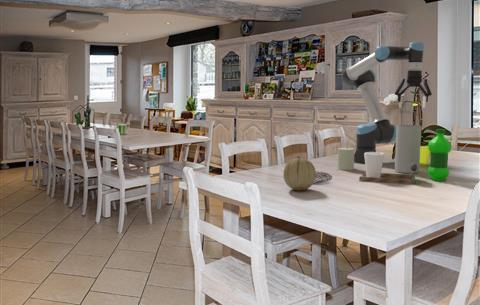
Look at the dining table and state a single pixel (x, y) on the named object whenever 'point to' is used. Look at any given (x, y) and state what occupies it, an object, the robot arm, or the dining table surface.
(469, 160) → the dining table surface
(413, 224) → the dining table surface
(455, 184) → the dining table surface
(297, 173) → the cantaloupe
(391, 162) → the dining table surface
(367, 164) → the foam cup
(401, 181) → the wooden tray
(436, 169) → the plastic bottle
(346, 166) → the can
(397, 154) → the cylinder vase
